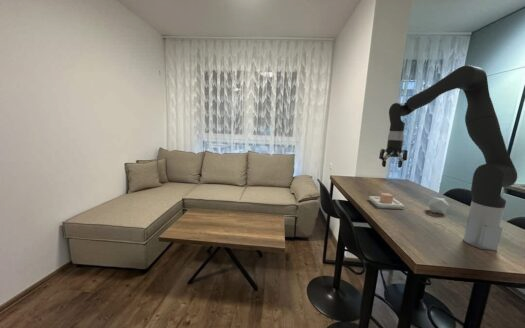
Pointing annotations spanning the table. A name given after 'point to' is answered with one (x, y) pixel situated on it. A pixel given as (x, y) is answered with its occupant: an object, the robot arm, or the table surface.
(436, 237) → the table surface
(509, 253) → the table surface
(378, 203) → the tray
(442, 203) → the die
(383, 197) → the cube
